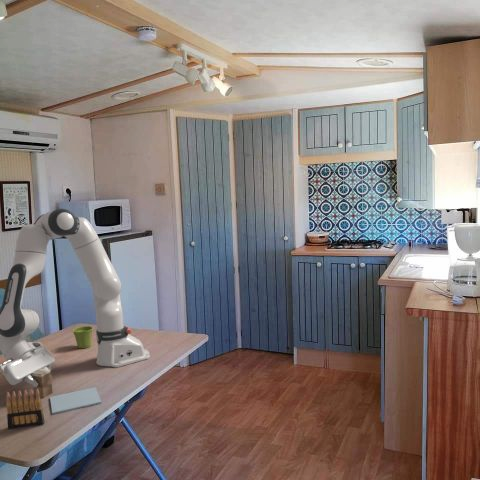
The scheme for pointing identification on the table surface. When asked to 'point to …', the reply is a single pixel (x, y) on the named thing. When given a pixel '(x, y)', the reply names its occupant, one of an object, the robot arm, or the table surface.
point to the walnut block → (43, 382)
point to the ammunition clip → (21, 416)
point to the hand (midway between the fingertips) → (43, 382)
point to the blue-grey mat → (74, 400)
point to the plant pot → (83, 336)
